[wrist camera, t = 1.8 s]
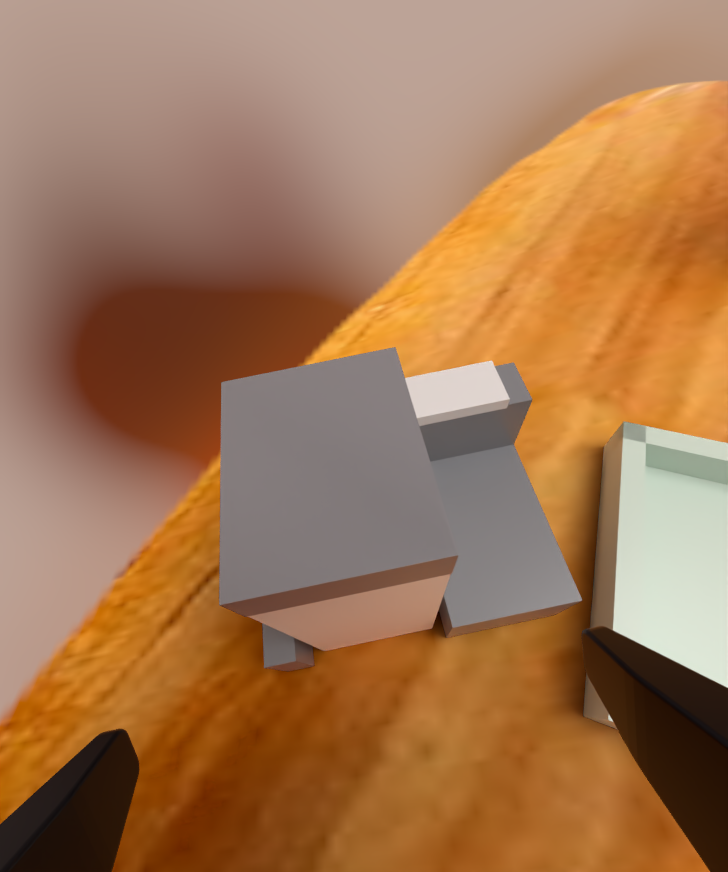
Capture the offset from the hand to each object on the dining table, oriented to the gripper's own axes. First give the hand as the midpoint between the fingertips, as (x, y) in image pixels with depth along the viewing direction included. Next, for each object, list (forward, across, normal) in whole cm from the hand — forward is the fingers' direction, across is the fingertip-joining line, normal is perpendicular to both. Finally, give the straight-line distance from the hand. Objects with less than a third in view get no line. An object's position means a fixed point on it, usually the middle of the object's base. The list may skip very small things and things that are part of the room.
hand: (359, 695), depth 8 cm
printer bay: (+12, -2, +4) cm, 13 cm away
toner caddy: (+12, 0, +4) cm, 12 cm away
